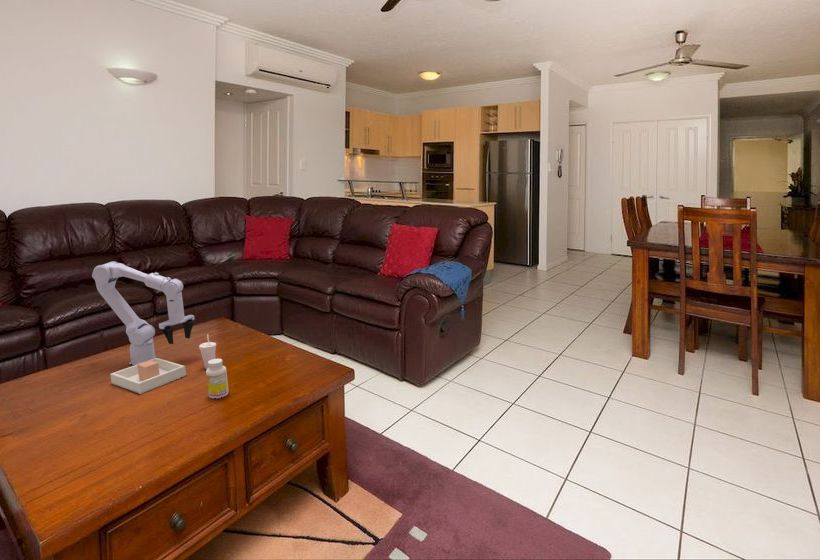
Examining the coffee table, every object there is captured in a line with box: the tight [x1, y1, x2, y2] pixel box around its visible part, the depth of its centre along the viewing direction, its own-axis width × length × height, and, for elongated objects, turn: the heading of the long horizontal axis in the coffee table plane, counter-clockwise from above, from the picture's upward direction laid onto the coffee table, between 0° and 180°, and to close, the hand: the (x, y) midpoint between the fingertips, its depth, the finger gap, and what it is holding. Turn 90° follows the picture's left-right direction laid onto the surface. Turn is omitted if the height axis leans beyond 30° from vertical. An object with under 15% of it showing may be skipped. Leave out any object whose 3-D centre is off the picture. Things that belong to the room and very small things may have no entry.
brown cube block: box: [137, 360, 160, 381], centre depth 173 cm, size 5×5×6 cm
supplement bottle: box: [205, 358, 230, 399], centre depth 160 cm, size 7×7×13 cm
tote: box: [110, 357, 187, 395], centre depth 174 cm, size 18×18×4 cm
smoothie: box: [198, 333, 217, 370], centre depth 184 cm, size 6×6×14 cm
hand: (179, 340), depth 189 cm, fingers open, 7 cm apart
